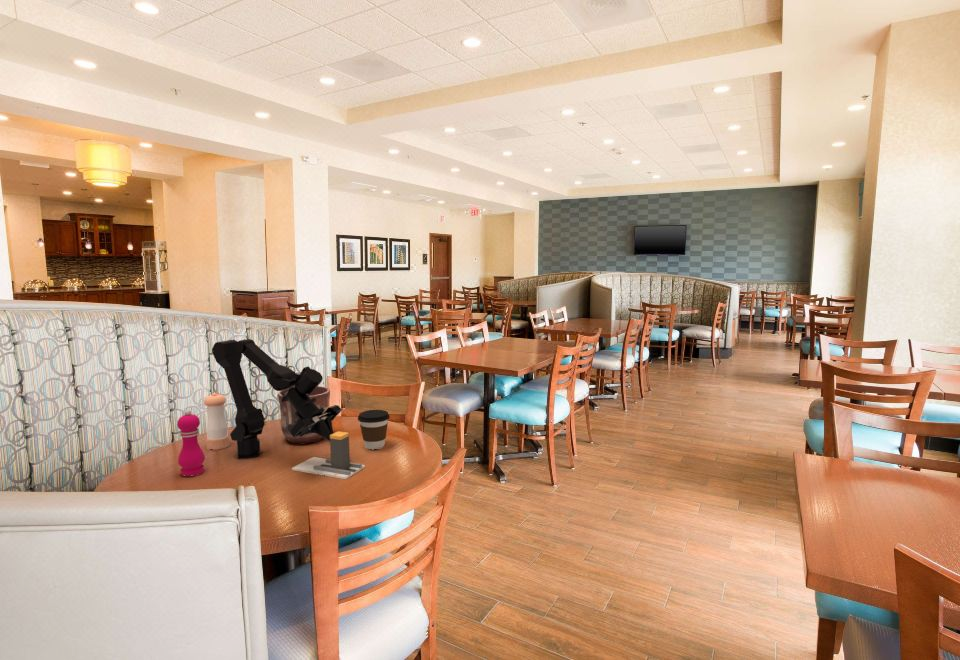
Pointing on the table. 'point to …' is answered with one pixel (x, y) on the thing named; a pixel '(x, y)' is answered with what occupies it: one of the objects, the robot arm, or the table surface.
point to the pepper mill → (190, 445)
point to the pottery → (289, 417)
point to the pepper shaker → (216, 422)
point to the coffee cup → (374, 428)
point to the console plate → (327, 468)
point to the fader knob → (340, 450)
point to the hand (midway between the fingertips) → (333, 441)
